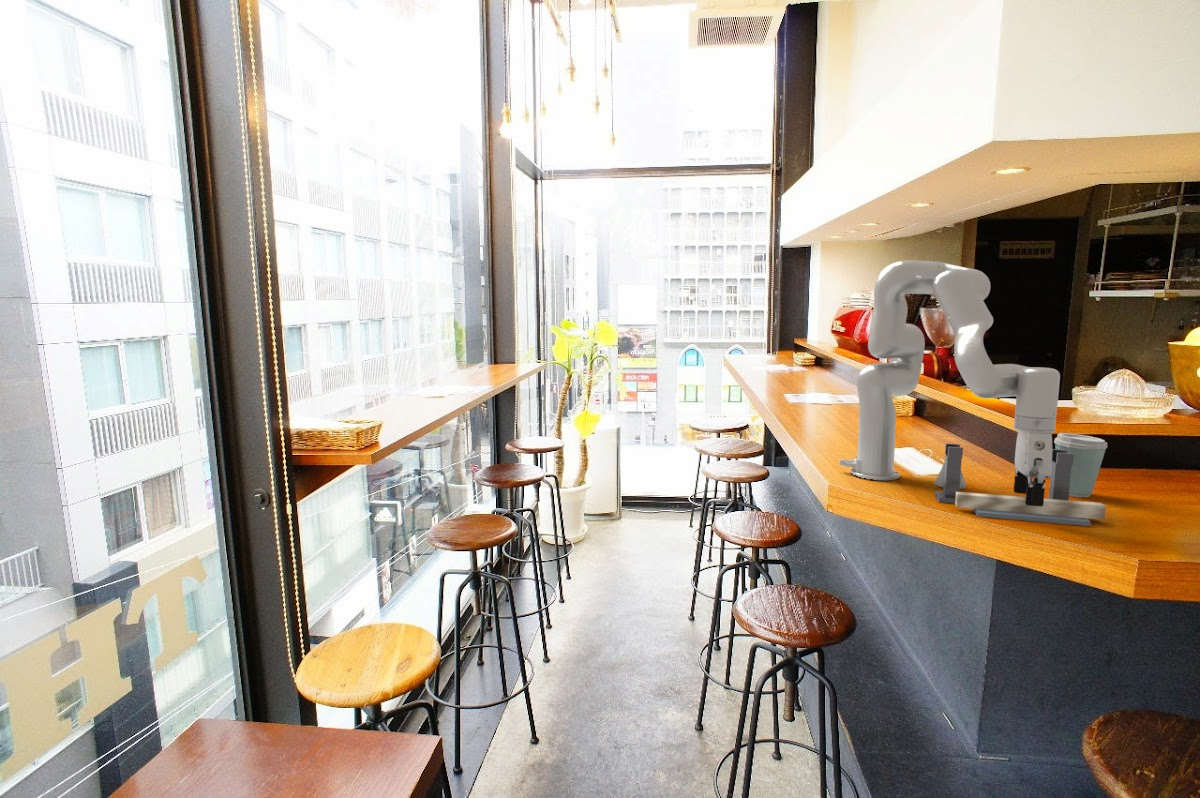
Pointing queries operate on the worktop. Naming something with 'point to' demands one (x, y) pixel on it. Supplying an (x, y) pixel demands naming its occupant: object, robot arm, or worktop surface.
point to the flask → (940, 479)
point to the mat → (1032, 517)
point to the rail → (1018, 505)
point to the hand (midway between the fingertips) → (1027, 499)
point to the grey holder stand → (1057, 479)
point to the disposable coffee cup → (1082, 461)
